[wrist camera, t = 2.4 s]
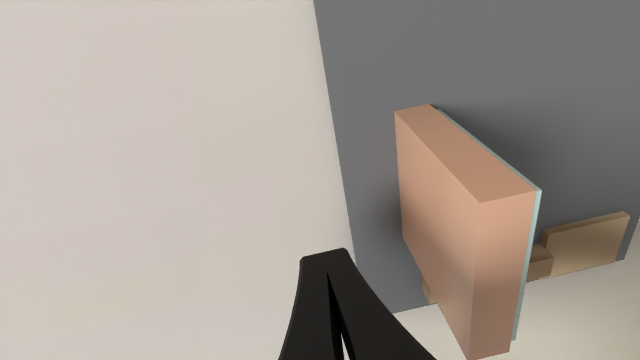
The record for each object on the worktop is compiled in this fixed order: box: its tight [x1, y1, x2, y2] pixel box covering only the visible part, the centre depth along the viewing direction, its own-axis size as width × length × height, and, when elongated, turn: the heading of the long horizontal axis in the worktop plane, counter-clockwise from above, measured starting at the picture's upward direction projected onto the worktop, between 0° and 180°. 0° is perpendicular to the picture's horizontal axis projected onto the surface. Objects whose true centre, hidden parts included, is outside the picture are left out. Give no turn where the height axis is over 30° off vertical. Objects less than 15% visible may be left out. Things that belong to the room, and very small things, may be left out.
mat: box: [313, 0, 640, 314], centre depth 15 cm, size 16×14×1 cm
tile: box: [394, 104, 542, 360], centre depth 12 cm, size 6×2×6 cm, turn 10°
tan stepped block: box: [421, 211, 630, 304], centre depth 17 cm, size 3×10×1 cm, turn 100°
